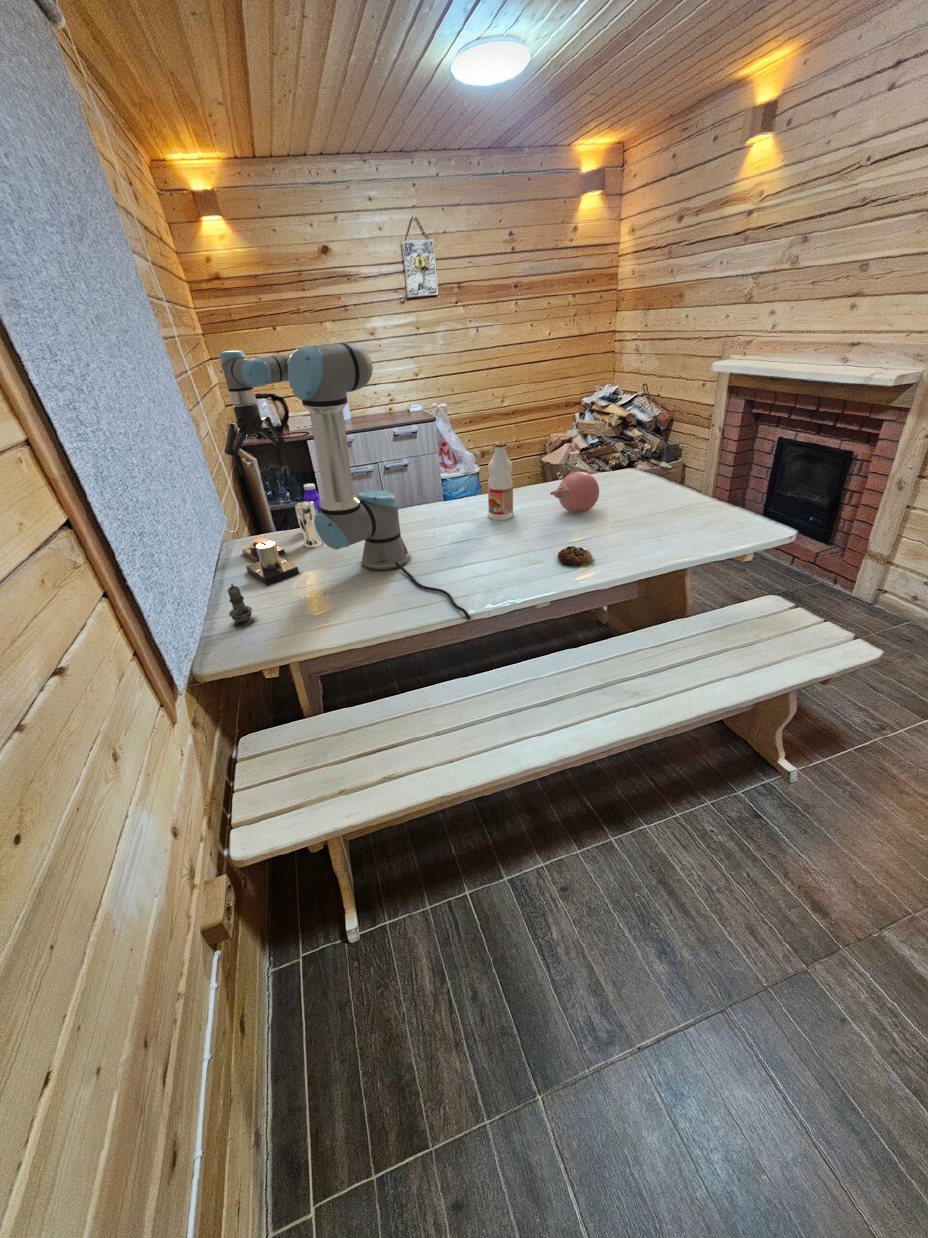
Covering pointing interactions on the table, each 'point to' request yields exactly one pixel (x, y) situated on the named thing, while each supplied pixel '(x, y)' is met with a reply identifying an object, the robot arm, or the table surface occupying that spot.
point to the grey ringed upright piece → (239, 608)
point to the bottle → (312, 496)
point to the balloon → (577, 492)
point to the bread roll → (574, 556)
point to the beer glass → (308, 523)
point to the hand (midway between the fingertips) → (261, 470)
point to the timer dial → (268, 555)
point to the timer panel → (272, 572)
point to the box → (253, 554)
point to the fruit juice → (500, 484)
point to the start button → (259, 540)
